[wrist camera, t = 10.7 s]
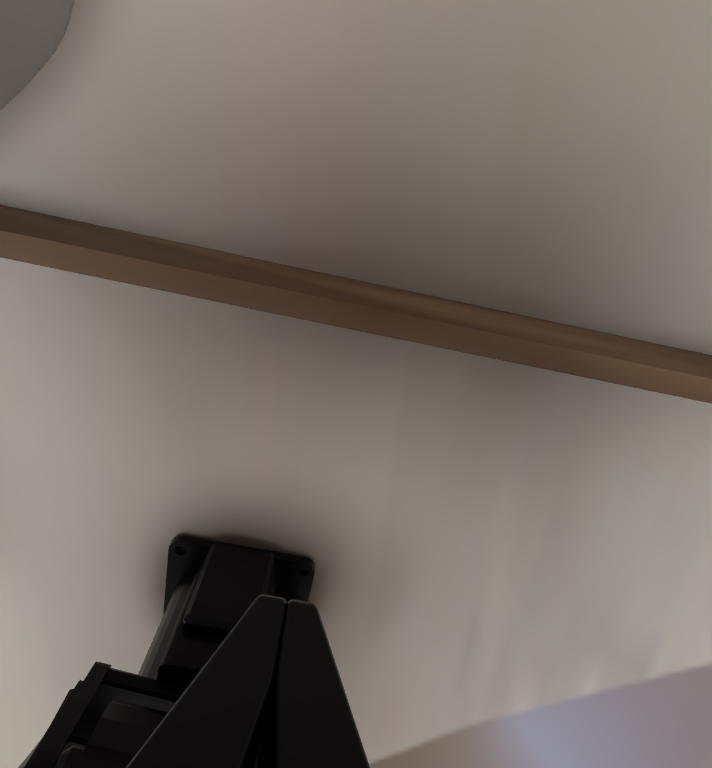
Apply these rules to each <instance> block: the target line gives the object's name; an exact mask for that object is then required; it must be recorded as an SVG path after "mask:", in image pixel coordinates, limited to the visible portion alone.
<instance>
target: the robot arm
mask: <svg viewBox="0 0 712 768" xmlns="http://www.w3.org/2000/svg"><path fill="white" fill-rule="evenodd" d="M178 546H181V547H183V548H184V549H182V548H179V547H178ZM300 568H306V570H302V569H300ZM314 570H315V564H314V562H313V561H312V560H311V559H310V558H307V557H302V556H296V555H290V554H285V553H279V552H273V551H268V550H262V549H256V548H250V547H245V546H239V545H233V544H228V543H222V542H216V541H210V540H205V539H199V538H193V537H188V536H177V537H175V538H174V539H173V540H172V542H171V544H170V546H169V551H168V564H167V577H166V589H165V602H164V615H163V618H162V620H161V623H160V625H159V627H158V629H157V632H156V634H155V636H154V639H153V641H152V643H151V646H150V648H149V650H148V653H147V655H146V657H145V660H144V662H143V664H142V667H141V669H140V671H139V674H138V675H137V674H133V673H129V672H125V671H121V670H117V669H113V668H111V665H108V664H105V663H101V662H95V664H94V665H93V667H92V669H91V670H90V672H89V673H88V675H87V677H86V678H85V680H84V681H81V680H80V681H79V682H78V683H77V685H76V687H75V688H74V689H71V690H69V692H68V694H67V696H66V697H65V699H64V701H63V703H62V705H61V707H60V709H59V710H58V712H57V714H56V716H55V718H54V720H53V721H52V723H51V725H50V727H49V728H48V730H47V731H46V733H45V735H44V736H43V738H42V739H41V740H40V742H39V743H38V744H37V745H36V747H35V748H34V749H33V750H32V752H31V753H30V754H29V755H28V756H27V758H26V759H25V760H24V761H23V763H22V764H21V765H20V766H19V767H18V768H370V766H369V763H368V760H367V757H366V754H365V751H364V748H363V745H362V742H361V739H360V736H359V733H358V730H357V727H356V724H355V721H354V718H353V715H352V712H351V709H350V706H349V703H348V700H347V696H346V693H345V690H344V687H343V684H342V681H341V678H340V675H339V672H338V669H337V666H336V663H335V660H334V657H333V654H332V651H331V648H330V645H329V642H328V639H327V636H326V633H325V630H324V627H323V624H322V621H321V618H320V614H319V611H318V609H317V607H316V605H315V604H314V603H311V602H308V598H309V593H310V589H311V585H312V580H313V576H314Z"/></svg>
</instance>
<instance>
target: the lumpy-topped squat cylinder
mask: <svg viewBox="0 0 712 768" xmlns="http://www.w3.org/2000/svg"><path fill="white" fill-rule="evenodd" d="M73 4H74V0H0V110H1V109H2V108H3V107H4V106H6V105H7V104H8V103H9V102H10V101H11V100H12V99H13V98H14V97H15V96H16V95H17V94H18V93H19V92H20V91H21V90H22V89H23V88H24V87H25V86H26V85H27V84H28V83H29V82H30V80H31V79H32V78H33V77H34V76H35V75H36V74H37V73H38V72H39V70H40V69H41V68H42V67H43V66H44V65H45V63H46V62H47V61H48V59H49V58H50V57H51V55H52V54H53V53H54V51H55V50H56V48H57V47H58V45H59V43H60V41H61V39H62V37H63V35H64V33H65V30H66V28H67V25H68V22H69V18H70V15H71V11H72V8H73Z"/></svg>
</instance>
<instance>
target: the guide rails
mask: <svg viewBox="0 0 712 768" xmlns="http://www.w3.org/2000/svg"><path fill="white" fill-rule="evenodd" d="M0 257H2V258H7V259H12V260H17V261H22V262H26V263H31V264H36V265H41V266H46V267H51V268H56V269H60V270H65V271H70V272H75V273H80V274H85V275H90V276H95V277H99V278H104V279H109V280H114V281H119V282H124V283H129V284H133V285H138V286H143V287H148V288H153V289H158V290H163V291H168V292H172V293H177V294H182V295H187V296H192V297H197V298H202V299H206V300H211V301H216V302H221V303H226V304H231V305H236V306H241V307H245V308H250V309H255V310H260V311H265V312H270V313H275V314H279V315H284V316H289V317H294V318H299V319H304V320H309V321H314V322H318V323H323V324H328V325H333V326H338V327H343V328H348V329H352V330H357V331H362V332H367V333H372V334H377V335H382V336H387V337H391V338H396V339H401V340H406V341H411V342H416V343H421V344H425V345H430V346H435V347H440V348H445V349H450V350H455V351H460V352H464V353H469V354H474V355H479V356H484V357H489V358H494V359H498V360H503V361H508V362H513V363H518V364H523V365H528V366H533V367H537V368H542V369H547V370H552V371H557V372H562V373H567V374H571V375H576V376H581V377H586V378H591V379H596V380H601V381H606V382H610V383H615V384H620V385H625V386H630V387H635V388H640V389H644V390H649V391H654V392H659V393H664V394H669V395H674V396H679V397H683V398H688V399H693V400H698V401H703V402H708V403H712V356H710V355H706V354H701V353H696V352H691V351H687V350H682V349H677V348H673V347H668V346H663V345H658V344H654V343H649V342H644V341H640V340H635V339H630V338H625V337H621V336H616V335H611V334H607V333H602V332H597V331H592V330H588V329H583V328H578V327H574V326H569V325H564V324H559V323H555V322H550V321H545V320H540V319H536V318H531V317H526V316H522V315H517V314H512V313H507V312H503V311H498V310H493V309H489V308H484V307H479V306H474V305H470V304H465V303H460V302H456V301H451V300H446V299H441V298H437V297H432V296H427V295H422V294H418V293H413V292H408V291H404V290H399V289H394V288H389V287H385V286H380V285H375V284H371V283H366V282H361V281H356V280H352V279H347V278H342V277H338V276H333V275H328V274H323V273H319V272H314V271H309V270H305V269H300V268H295V267H290V266H286V265H281V264H276V263H271V262H267V261H262V260H257V259H253V258H248V257H243V256H238V255H234V254H229V253H224V252H220V251H215V250H210V249H205V248H201V247H196V246H191V245H187V244H182V243H177V242H172V241H168V240H163V239H158V238H153V237H149V236H144V235H139V234H135V233H130V232H125V231H120V230H116V229H111V228H106V227H102V226H97V225H92V224H87V223H83V222H78V221H73V220H69V219H64V218H59V217H54V216H50V215H45V214H40V213H36V212H31V211H26V210H21V209H17V208H12V207H7V206H2V205H0Z"/></svg>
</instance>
